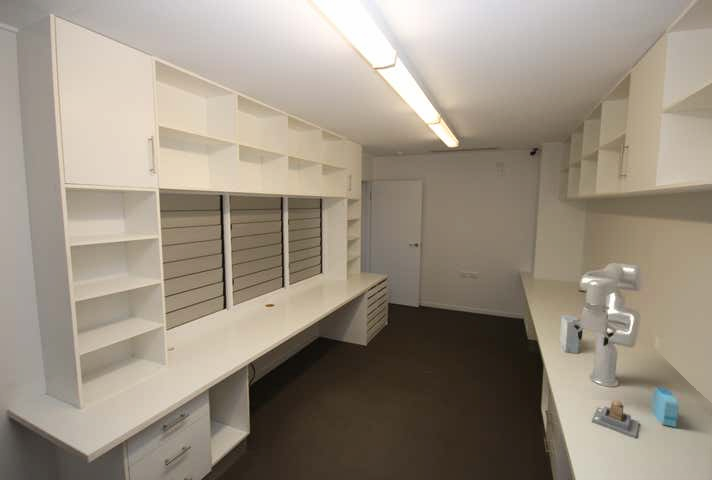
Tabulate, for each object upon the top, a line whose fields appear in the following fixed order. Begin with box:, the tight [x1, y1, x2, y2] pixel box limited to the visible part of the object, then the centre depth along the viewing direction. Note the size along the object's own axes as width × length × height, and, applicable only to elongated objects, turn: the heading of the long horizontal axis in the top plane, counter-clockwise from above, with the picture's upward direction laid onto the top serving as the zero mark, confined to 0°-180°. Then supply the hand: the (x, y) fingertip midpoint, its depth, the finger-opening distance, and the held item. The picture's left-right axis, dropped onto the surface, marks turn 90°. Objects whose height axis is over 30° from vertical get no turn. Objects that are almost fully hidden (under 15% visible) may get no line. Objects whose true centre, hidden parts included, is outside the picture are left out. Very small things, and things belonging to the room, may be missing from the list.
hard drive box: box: [559, 314, 581, 354], centre depth 225 cm, size 16×8×20 cm, turn 161°
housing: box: [591, 406, 640, 439], centre depth 150 cm, size 13×15×4 cm
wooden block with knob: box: [609, 399, 625, 421], centre depth 150 cm, size 4×4×8 cm
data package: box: [651, 387, 679, 428], centre depth 152 cm, size 12×4×12 cm, turn 156°
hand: (592, 342), depth 161 cm, fingers open, 9 cm apart
